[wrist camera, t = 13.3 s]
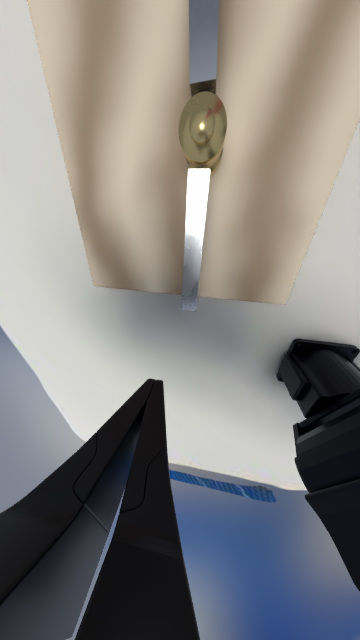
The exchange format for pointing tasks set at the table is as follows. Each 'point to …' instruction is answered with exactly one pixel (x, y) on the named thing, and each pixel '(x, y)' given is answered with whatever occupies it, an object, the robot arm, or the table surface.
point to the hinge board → (164, 145)
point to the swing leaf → (203, 47)
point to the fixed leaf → (199, 180)
